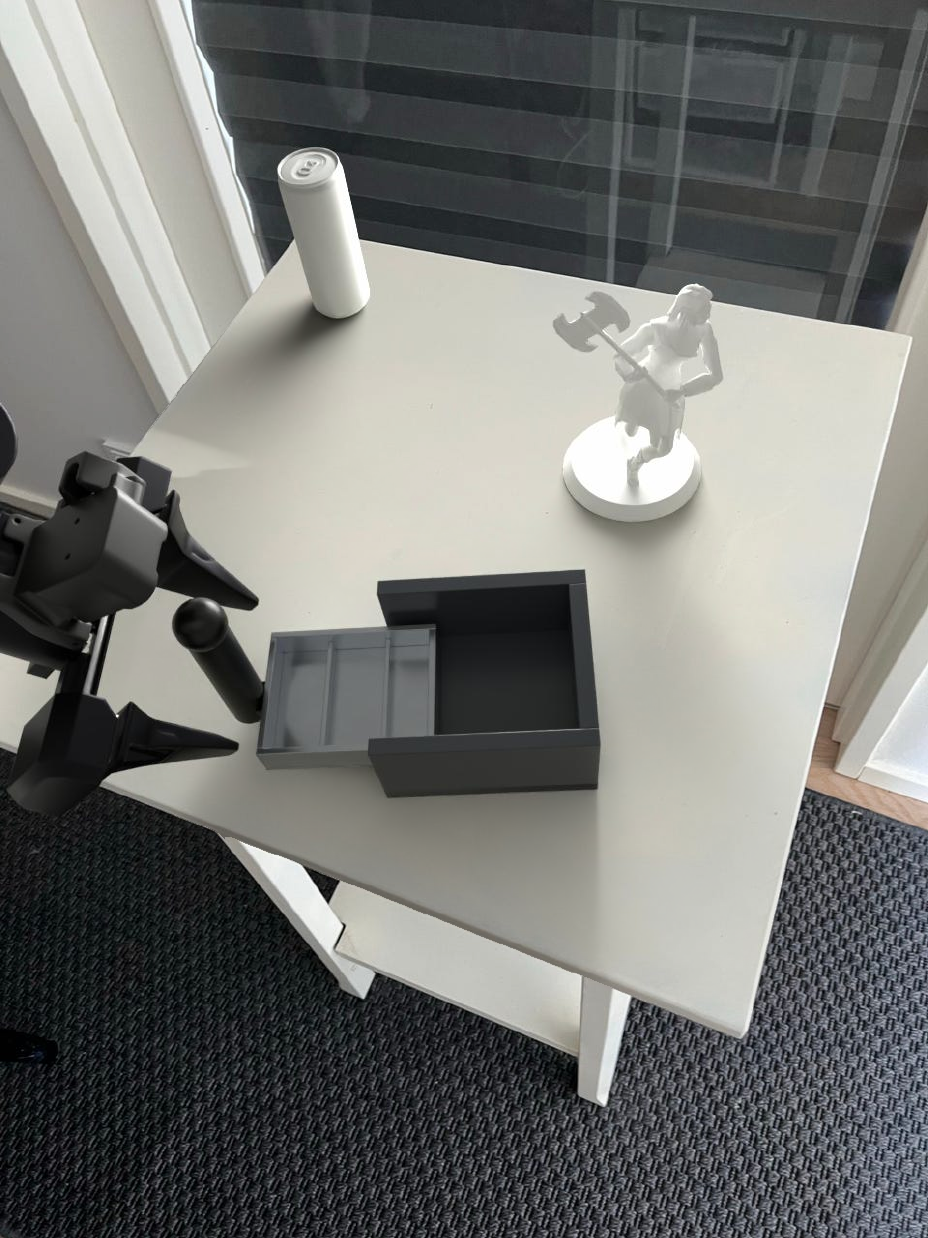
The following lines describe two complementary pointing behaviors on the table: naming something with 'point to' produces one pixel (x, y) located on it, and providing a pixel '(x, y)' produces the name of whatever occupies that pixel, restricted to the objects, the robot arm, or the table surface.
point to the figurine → (642, 410)
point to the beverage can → (324, 230)
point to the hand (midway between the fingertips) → (246, 674)
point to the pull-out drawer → (320, 685)
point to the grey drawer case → (499, 686)
